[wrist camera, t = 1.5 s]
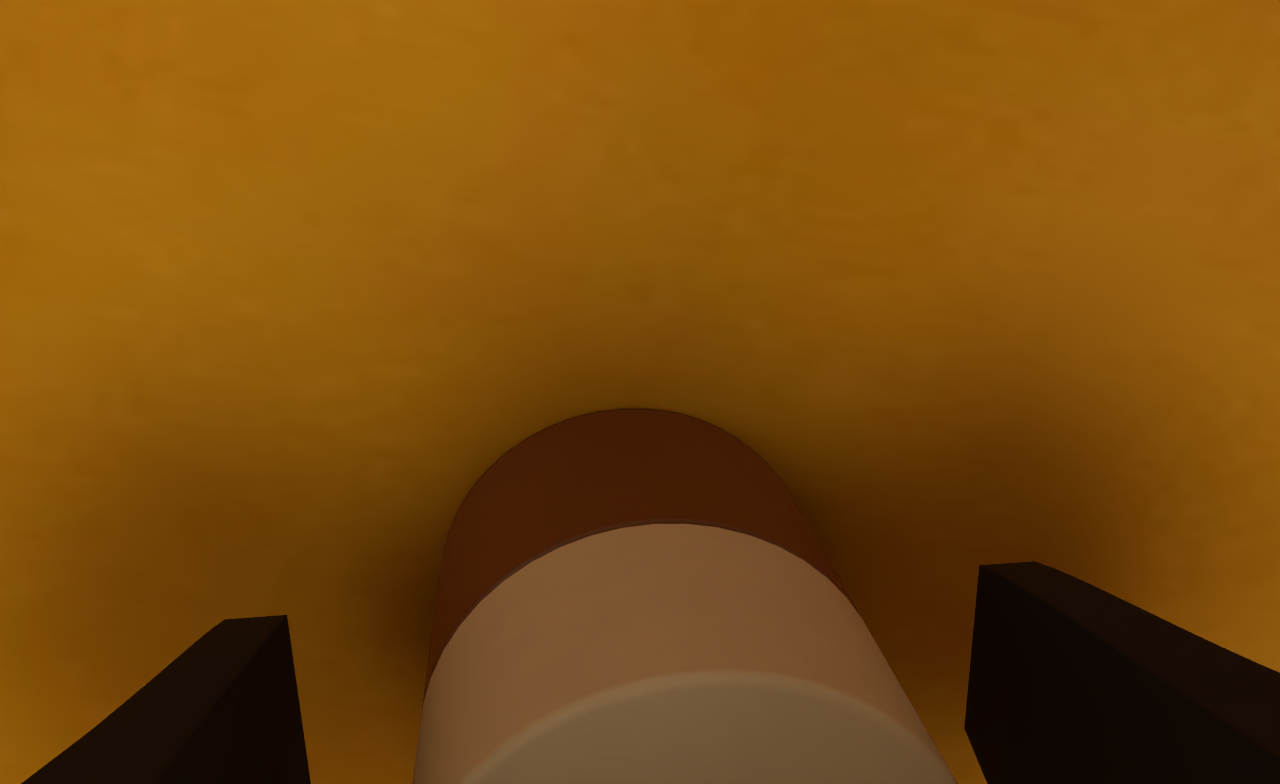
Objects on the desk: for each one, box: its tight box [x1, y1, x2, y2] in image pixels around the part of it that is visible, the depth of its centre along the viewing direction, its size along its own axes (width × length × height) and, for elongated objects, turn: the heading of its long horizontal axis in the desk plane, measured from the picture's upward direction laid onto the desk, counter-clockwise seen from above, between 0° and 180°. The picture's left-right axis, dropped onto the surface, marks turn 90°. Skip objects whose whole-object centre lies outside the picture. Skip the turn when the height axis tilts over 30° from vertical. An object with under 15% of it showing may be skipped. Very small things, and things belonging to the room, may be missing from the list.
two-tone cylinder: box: [413, 409, 957, 784], centre depth 11 cm, size 4×4×6 cm
